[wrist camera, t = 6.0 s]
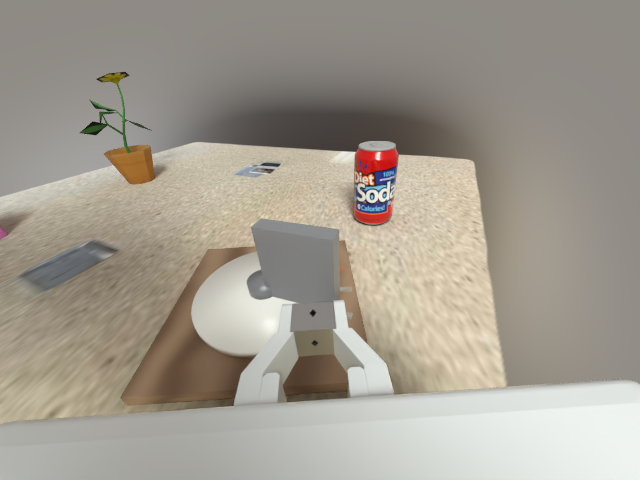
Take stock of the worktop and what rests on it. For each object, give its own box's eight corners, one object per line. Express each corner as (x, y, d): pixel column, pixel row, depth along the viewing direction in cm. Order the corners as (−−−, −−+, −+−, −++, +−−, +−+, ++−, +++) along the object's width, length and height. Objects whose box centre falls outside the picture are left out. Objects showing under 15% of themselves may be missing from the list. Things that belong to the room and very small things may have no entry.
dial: (159, 330, 29) (111, 255, 23) (247, 246, 43) (232, 185, 37) (309, 385, 23) (296, 302, 17) (355, 266, 37) (357, 197, 31)
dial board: (127, 405, 24) (118, 396, 23) (210, 256, 44) (207, 248, 43) (374, 388, 24) (376, 379, 23) (344, 247, 44) (344, 239, 43)
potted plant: (163, 168, 94) (125, 73, 78) (177, 179, 82) (135, 69, 66) (106, 181, 85) (49, 76, 68) (113, 195, 73) (45, 72, 56)
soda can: (382, 208, 56) (388, 138, 48) (397, 224, 50) (408, 146, 42) (348, 212, 55) (349, 142, 47) (360, 230, 49) (363, 151, 40)
